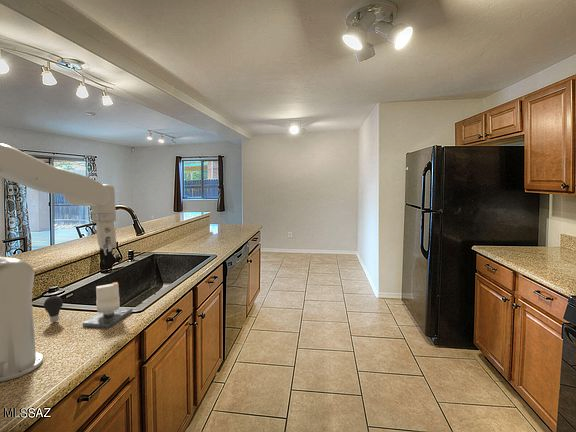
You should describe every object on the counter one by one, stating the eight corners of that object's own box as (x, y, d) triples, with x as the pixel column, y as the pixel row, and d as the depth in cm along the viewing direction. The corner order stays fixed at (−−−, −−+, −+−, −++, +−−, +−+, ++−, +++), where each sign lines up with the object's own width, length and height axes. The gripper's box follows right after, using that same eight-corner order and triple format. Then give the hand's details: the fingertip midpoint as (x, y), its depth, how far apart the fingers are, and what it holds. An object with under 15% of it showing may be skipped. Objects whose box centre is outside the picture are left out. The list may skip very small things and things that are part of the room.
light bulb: (67, 319, 115) (66, 294, 114) (55, 326, 109) (53, 299, 108) (54, 318, 115) (52, 293, 114) (40, 325, 110) (39, 298, 109)
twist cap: (98, 314, 110) (97, 289, 109) (95, 307, 116) (94, 284, 115) (121, 309, 115) (120, 285, 114) (117, 302, 121) (116, 280, 120)
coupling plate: (108, 328, 108) (108, 317, 108) (82, 326, 109) (82, 316, 109) (132, 312, 122) (131, 302, 122) (109, 310, 123) (108, 301, 123)
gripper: (120, 219, 107) (123, 265, 109) (111, 214, 121) (113, 256, 123) (96, 221, 103) (99, 269, 105) (89, 215, 116) (92, 259, 118)
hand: (107, 262), depth 114 cm, fingers open, 9 cm apart
